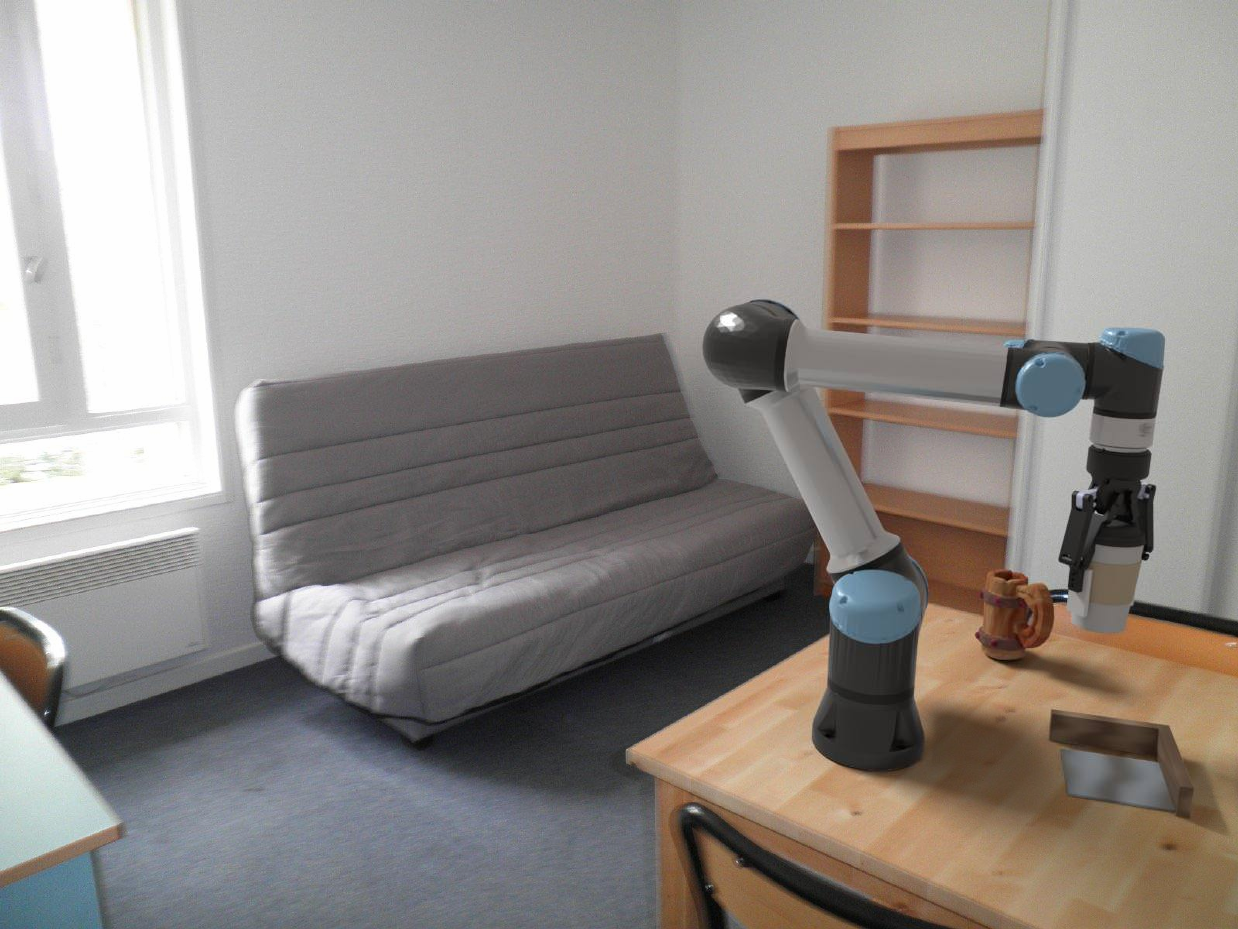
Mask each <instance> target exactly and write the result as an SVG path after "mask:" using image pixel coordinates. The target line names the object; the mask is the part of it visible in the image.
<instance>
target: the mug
mask: <svg viewBox="0 0 1238 929" xmlns="http://www.w3.org/2000/svg"><path fill="white" fill-rule="evenodd" d="M986 576H987V577H986V584H985V585H984V586H983V588H982V590H981V591H979V593H978V596H979V598H981V599H982V600H983V601H984V602H983V618H982V626H980V627H979V628H978V631H976V632H975V633H974V637H975V638H976V639H977V641H978V642H979V643H981V645H980V647H981V650H982V652H983V653H984V654H985V655H986V656H988V657H990V658H992V659H994V660H995V659H996V660H1001V661H1003V660H1004V661H1012V660H1013V661H1015V660H1018V659H1022V658H1024V657H1025V656H1026V649H1029V650H1030V649H1034V648H1035V649H1037V648H1039V647H1041V646H1042V645H1044V643H1046V642H1047V640H1048V639H1049V638H1050V636H1051V633H1052V631H1053V628H1054V622H1055V607H1054V600H1053V598H1052V595H1051V593H1050V591H1049V588H1048V587H1047V585H1046V584H1045V583H1043V582H1035V583H1030V584H1029V577H1028V576H1026V575H1025V574H1024V573H1022V572H1017V571H1015V572H1013V571H1012V570H1010V569H1006V568H1005V569H1002V568H1001V569H1000V568H999V569H998V568H996V569H995V570H992V569H990V571H989V572H988V573H987V575H986ZM1028 608H1029V609H1030V610H1031V611H1032V617H1031V623H1030V624H1028V623H1027V618H1028V612H1029V610H1028Z"/></svg>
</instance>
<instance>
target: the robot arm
mask: <svg viewBox="0 0 1238 929" xmlns="http://www.w3.org/2000/svg"><path fill="white" fill-rule="evenodd" d="M1165 347H1166V338H1165V336H1164V334H1163V333H1162V332H1161V331H1159V330H1156V329H1151V328H1144V327H1143V328H1141V327H1108V328H1105V329H1104V330H1103V331H1102V333H1101V336H1100V338H1099V341H1096V342H1095V341H1093V342H1076V341H1075V342H1072V341H1058V340H1056V341H1055V340H1041V339H1040V340H1039V339H1038V340H1037V339H1034V338H1027V339H1010V340H1007V341H1006V342H1005V343H1004V344H1003V346H1002V345H991V344H983V343H982V344H979V343H970V342H961V341H960V342H958V341H948V340H938V339H937V340H936V339H927V338H918V337H916V338H915V337H904V336H897V335H896V336H893V335H886V334H885V335H884V334H883V335H881V334H875V333H874V334H873V333H872V334H871V333H862V332H852V331H838V330H829V329H819V328H809V327H807V326H806V325H805V324H804V323H803V322H802V321H801V319H800V317H799V316H798V314H796V312H795V311H793V310H792V309H791V308H790V307H788V306H787V305H785V304H783V303H781V302H778V301H775V300H772V299H765V298H763V299H761V298H759V299H752V300H750V301H747V302H744V303H740V304H737V305H734V306H730V307H728V308H725V309H723V310H722V311H721V312H719V313H718V314H716V315H715V316H714V317H713V318H712V320H711V321H710V323H709V324H708V326H707V327H706V329H705V331H704V334H703V338H702V345H701V348H702V355H703V360H704V363H705V364H706V367H707V369H708V370H709V372H710V373H711V375H712V376H713V377H714V378H716V379H717V380H718V381H719V382H721V383H722V384H723V385H726V386H728V387H730V388H734V389H737V391H738V392H739V394H740V397H741V399H742V400H743V402H744V404H745V406H747V407H748V408H749V407H750V408H751V409H755V410H757V411H759V412H760V413H761V416H762V418H763V419H764V422H765V424H766V425H767V428H768V430H769V432H770V434H771V436H772V438H773V441H774V443H775V445H776V446H777V448H778V450H779V452H780V454H781V456H782V458H783V460H784V462H785V464H786V467H787V469H788V471H789V473H790V474H791V477H792V478H793V481H794V482H795V484H796V487H797V489H798V491H799V494H800V495H801V497H802V499H803V501H804V503H805V506H806V508H807V509H808V511H809V513H810V515H811V518H812V520H813V523H815V525H816V528H817V529H818V532H819V533H820V536H821V538H822V540H823V542H824V544H825V546H826V548H827V550H828V552H829V556H830V558H829V560H828V563H827V566H826V571H827V574H828V576H829V578H830V580H831V582H832V583H833V587H832V592H831V596H830V599H829V604H828V606H829V607H828V608H829V616H830V618H829V637H828V656H827V657H828V659H827V677H826V678H827V682H826V688H825V691H824V693H823V696H822V698H821V701H820V703H819V705H818V708H817V710H816V713H815V715H814V717H813V720H812V726H811V727H812V728H811V741H812V744H813V746H814V747H815V749H816V750H817V751H819V753H821V754H822V755H824V757H826V758H828V759H830V760H832V761H834V762H836V763H838V764H842V765H844V766H847V767H851V768H855V769H859V770H867V771H893V770H900V769H903V768H907V767H910V766H912V765H914V764H915V763H917V762H918V761H920V760H921V759H922V757H923V755H924V752H925V751H924V750H925V739H926V738H925V731H924V727H923V724H922V720H921V716H920V714H919V709H918V706H917V702H916V700H915V688H916V687H915V686H916V684H915V683H916V674H917V659H918V658H917V657H918V646H919V645H918V644H919V638H920V634H921V628H922V624H923V621H924V617H925V614H926V610H927V608H928V605H929V599H930V598H929V596H930V591H929V584H928V580H927V578H926V574H925V572H924V570H923V568H922V567H921V566H920V564H919V563H918V562H917V561H916V560H915V559H914V558H913V557H911V556H910V555H909V554H908V551H907V550H906V548H905V546H904V544H903V541H902V540H901V538H900V536H899V535H897V534H894V533H891V532H888V531H886V530H885V529H884V527H883V525H882V523H881V521H880V519H879V517H878V515H877V513H876V511H875V508H874V506H873V504H872V502H871V500H870V498H869V496H868V494H867V492H866V490H865V488H864V486H863V484H862V481H861V480H860V478H859V476H858V474H857V472H856V469H855V468H854V466H853V464H852V462H851V459H850V458H849V456H848V453H847V451H846V449H845V448H844V445H843V444H842V441H841V439H840V437H839V435H838V433H837V431H836V429H835V427H834V425H833V423H832V421H831V419H830V416H829V415H828V412H827V411H826V409H825V408H826V407H825V406H824V404H823V403H822V400H821V398H820V397H819V394H818V392H817V390H816V388H821V389H822V388H823V389H829V390H839V391H840V390H841V391H849V392H859V393H865V394H866V393H868V394H876V395H877V394H878V395H888V396H897V397H905V398H913V399H914V398H916V399H925V400H935V401H942V402H952V403H962V404H970V405H971V404H972V405H979V406H980V405H981V406H990V407H997V408H998V407H999V408H1006V409H1011V410H1012V409H1013V410H1020V411H1027V412H1028V413H1030V414H1032V415H1035V416H1037V417H1041V418H1050V419H1051V418H1057V417H1062V416H1063V415H1066V414H1068V413H1070V412H1071V411H1072V410H1074V409H1075V407H1077V406H1078V405H1079V403H1080V401H1081V400H1086V401H1088V400H1089V401H1090V400H1091V401H1092V400H1093V409H1092V415H1091V422H1090V429H1089V430H1090V431H1089V435H1088V436H1089V437H1088V439H1089V442H1091V443H1092V444H1091V445H1090V446H1088V448H1087V449H1088V450H1087V459H1086V466H1085V469H1086V472H1087V473H1088V474H1089V475H1090V476H1091V482H1090V484H1089V486H1088V489H1087V490H1085V491H1079V490H1074V491H1072V493H1071V505H1070V506H1071V507H1070V513H1069V516H1068V519H1067V520H1068V521H1067V524H1066V527H1065V531H1064V536H1063V539H1062V543H1061V547H1060V551H1059V555H1058V562H1059V563H1061V564H1063V565H1066V566H1068V567H1069V570H1068V580H1067V582H1068V583H1067V590H1068V591H1067V592H1068V594H1067V600H1066V601H1067V602H1066V608H1065V609H1066V611H1067V612H1069V613H1071V612H1072V613H1074V614H1077V615H1079V616H1082V617H1086V616H1087V613H1088V605H1089V596H1090V588H1091V580H1092V572H1093V570H1091V569H1088V567H1089V565H1090V562H1091V560H1092V558H1093V555H1094V553H1095V546H1096V544H1095V542H1096V536H1099V535H1100V533H1101V530H1102V528H1103V527H1106V526H1107V525H1108V524H1110V523H1111V522H1112V520H1113V518H1114V517H1115V518H1116V520H1118V521H1121V522H1125V523H1128V524H1131V523H1132V522H1135V523H1137V525H1138V527H1139V529H1140V530H1142V531H1143V532H1144V534H1145V540H1146V544H1145V545H1144V547H1143V551H1142V556H1141V558H1142V561H1143V562H1144V561H1145V562H1147V561H1148V560H1149V558H1150V554H1151V553H1152V552H1153V551H1154V546H1155V545H1154V541H1155V540H1154V536H1155V535H1154V531H1155V530H1154V500H1155V495H1156V491H1157V485H1156V484H1152V483H1148V482H1144V481H1143V480H1146V479H1147V478H1149V475H1150V471H1151V470H1150V469H1151V468H1150V467H1151V463H1152V462H1151V461H1152V452H1151V451H1150V449H1148V448H1151V447H1152V446H1153V443H1154V435H1155V427H1156V419H1157V414H1158V406H1159V400H1160V394H1161V386H1162V380H1163V373H1164V369H1165V366H1164V361H1165ZM1081 557H1082V560H1081ZM1136 588H1137V587H1136ZM1136 588H1135V590H1137V589H1136ZM1135 594H1136V591H1135V592H1134V597H1133V601H1132V602H1131V605H1130V607H1132V606H1134V602H1135Z"/></svg>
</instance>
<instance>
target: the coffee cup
mask: <svg viewBox="0 0 1238 929" xmlns="http://www.w3.org/2000/svg"><path fill="white" fill-rule="evenodd" d="M1095 544H1096V546H1095V553H1094V555H1093V558H1092V560H1091V562H1090V565H1089V567H1088V569H1091V570H1093V572H1092V580H1091V588H1090V596H1089V605H1088V613H1087V616H1086V617H1082V616H1079V615H1077V614H1074V613H1072V612H1070V622H1071V623H1072V624H1073V626H1075V627H1077V628H1079V629H1082V630H1084V631H1087V632H1092V633H1097V634H1105V635H1106V634H1107V635H1111V634H1119V633H1120V634H1121V633H1122V632H1125V630H1126V626H1127V622H1128V618H1129V617H1128V616H1129V613H1130V610H1131V606H1130V605H1131V602H1132V601H1133V597H1134V598H1135V596H1134V592H1135V593H1136V589H1135V588H1137V583H1138V579H1139V575H1140V570H1141V567H1142V562H1143V560H1142V558H1141V556H1142V551H1143V547H1144V545H1145V544H1146V540H1145V534H1144V532H1143V531H1142V530H1140V529H1139V527H1138V525H1137V523H1135V522H1132V523H1131V524H1128V523H1125V522H1121V521H1118V520H1116V518H1115V517H1114V518H1113V520H1112V522H1111V523H1110V524H1108V525H1107V526H1106V527H1103V528H1102V530H1101V533H1100V535H1099V536H1096V542H1095ZM1081 560H1082V557H1081Z"/></svg>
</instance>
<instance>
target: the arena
mask: <svg viewBox="0 0 1238 929" xmlns="http://www.w3.org/2000/svg"><path fill="white" fill-rule="evenodd" d="M1048 740H1049V741H1053V742H1060V743H1067V744H1073V745H1079V746H1087V747H1094V748H1102V749H1107V750H1112V751H1113V750H1114V751H1122V752H1128V753H1135V754H1141V755H1147V756H1148V755H1149V756H1153V757H1155V759H1156V761H1149V760H1142V759H1135V758H1132V757H1130V758H1129V757H1124V756H1123V757H1122V756H1117V755H1109V754H1103V753H1097V752H1090V751H1082V750H1075V749H1071V748H1070V749H1069V748H1063V747H1060V749H1059V750H1060V756H1061V762H1062V767H1063V768H1062V769H1063V774H1064V780H1065V786H1066V791H1067V792H1066V793H1067V796H1069V797H1070V796H1071V797H1078V798H1083V799H1089V800H1096V801H1102V802H1107V803H1114V804H1119V805H1127V806H1133V807H1138V808H1139V807H1140V808H1144V809H1145V808H1146V809H1150V810H1156V811H1163V812H1169V813H1174V814H1175V816H1176V817H1181V818H1186V819H1190V818H1191V813H1192V807H1193V806H1192V805H1193V799H1194V791H1195V787H1194V784H1193V783H1192V780H1191V776H1190V774H1189V773H1188V770H1187V768H1186V765H1185V763H1184V759H1183V758H1182V754H1181V751H1180V749H1179V747H1178V745H1177V741H1176V739H1175V737H1174V735H1173V732H1172V729H1171V727H1170V725H1168V724H1162V723H1155V722H1147V721H1139V720H1131V719H1125V718H1119V717H1112V716H1103V715H1096V714H1090V713H1089V714H1088V713H1081V712H1080V713H1079V712H1074V711H1067V710H1060V709H1053V708H1051V709H1050V717H1049V728H1048Z"/></svg>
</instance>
